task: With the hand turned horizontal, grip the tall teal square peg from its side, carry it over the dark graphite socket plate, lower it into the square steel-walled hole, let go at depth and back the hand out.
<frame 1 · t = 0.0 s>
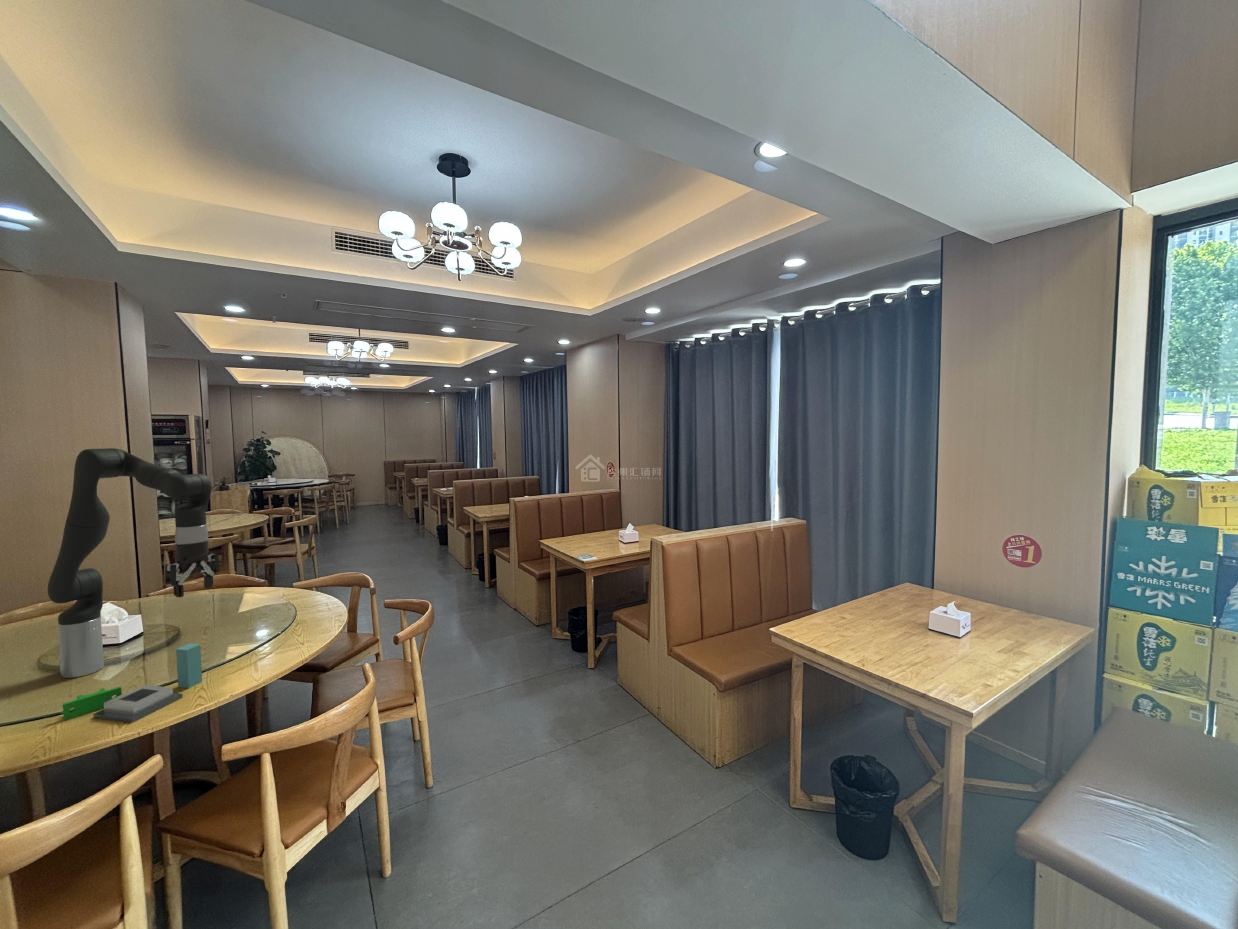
hand: (194, 592, 149), 29 cm above the table, tool pointing down, fingers open, 8 cm apart
square socket plate: (139, 707, 139), on the table
teal square peg: (190, 684, 151), on the table
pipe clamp: (93, 709, 138), on the table
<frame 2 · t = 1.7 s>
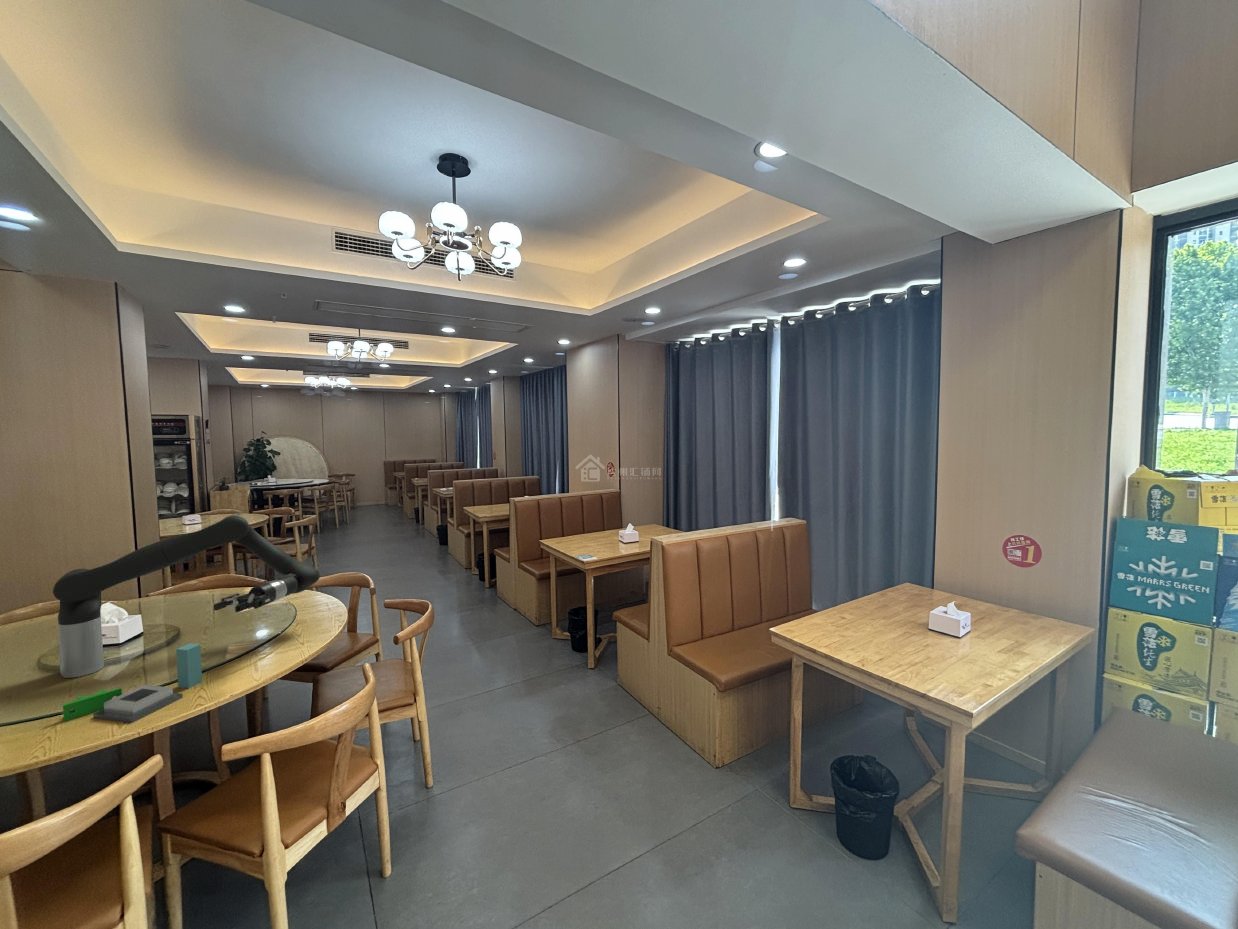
hand: (225, 608, 162), 20 cm above the table, tool horizontal, fingers open, 8 cm apart
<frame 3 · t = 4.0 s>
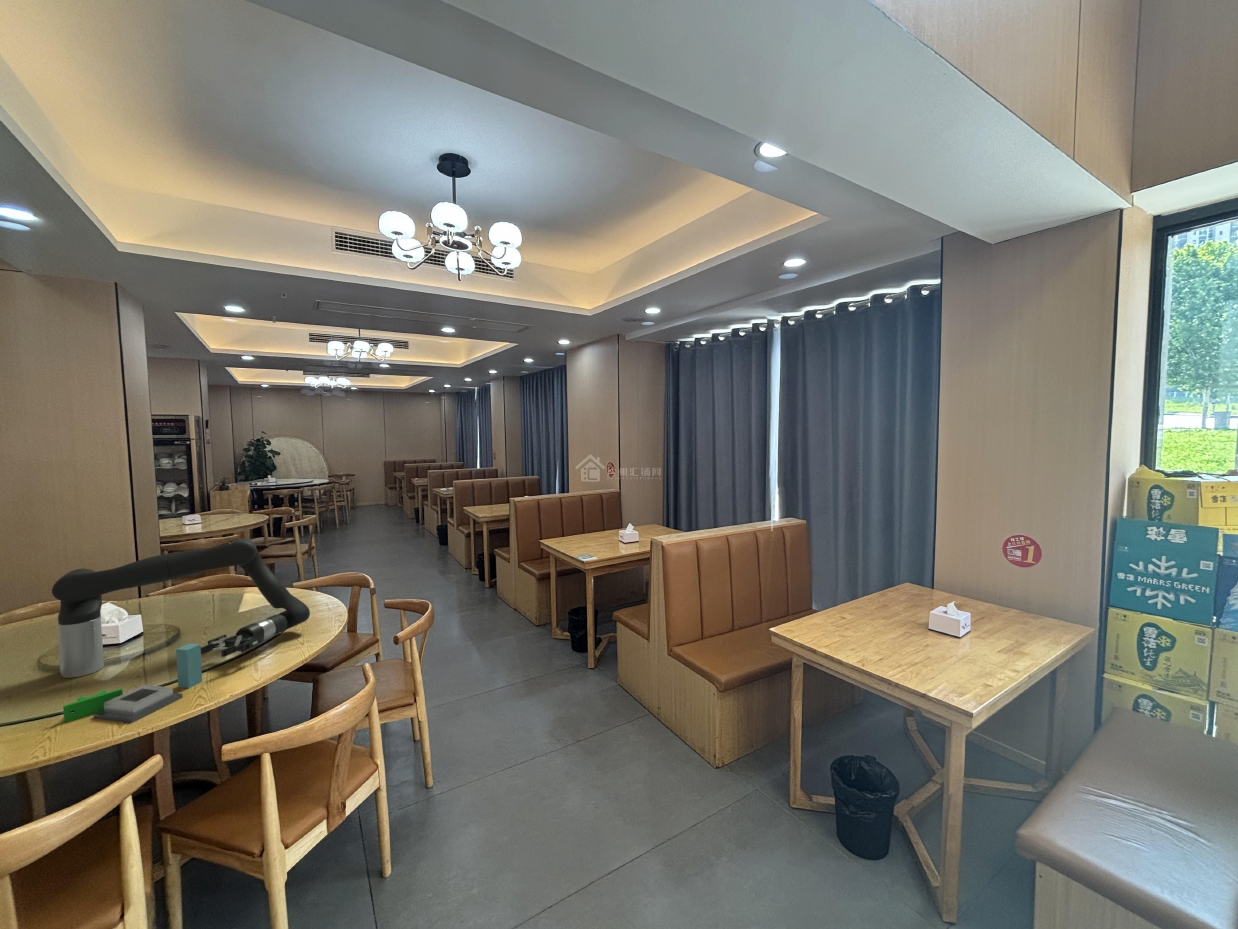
hand: (211, 652, 158), 7 cm above the table, tool horizontal, fingers open, 8 cm apart
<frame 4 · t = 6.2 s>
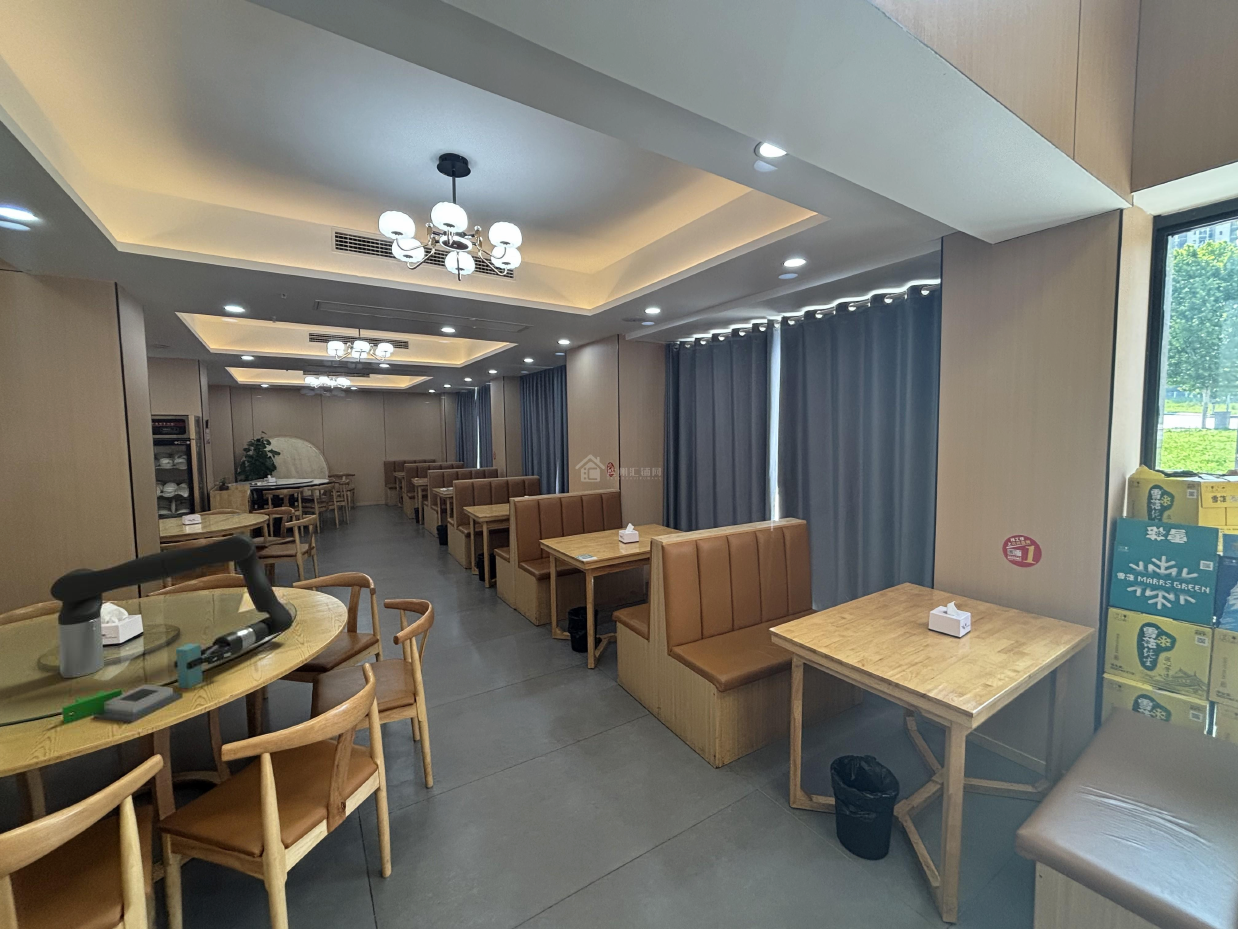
hand: (181, 665, 149), 7 cm above the table, tool horizontal, fingers closed on teal square peg, 4 cm apart
teal square peg: (190, 684, 151), on the table, touching gripper
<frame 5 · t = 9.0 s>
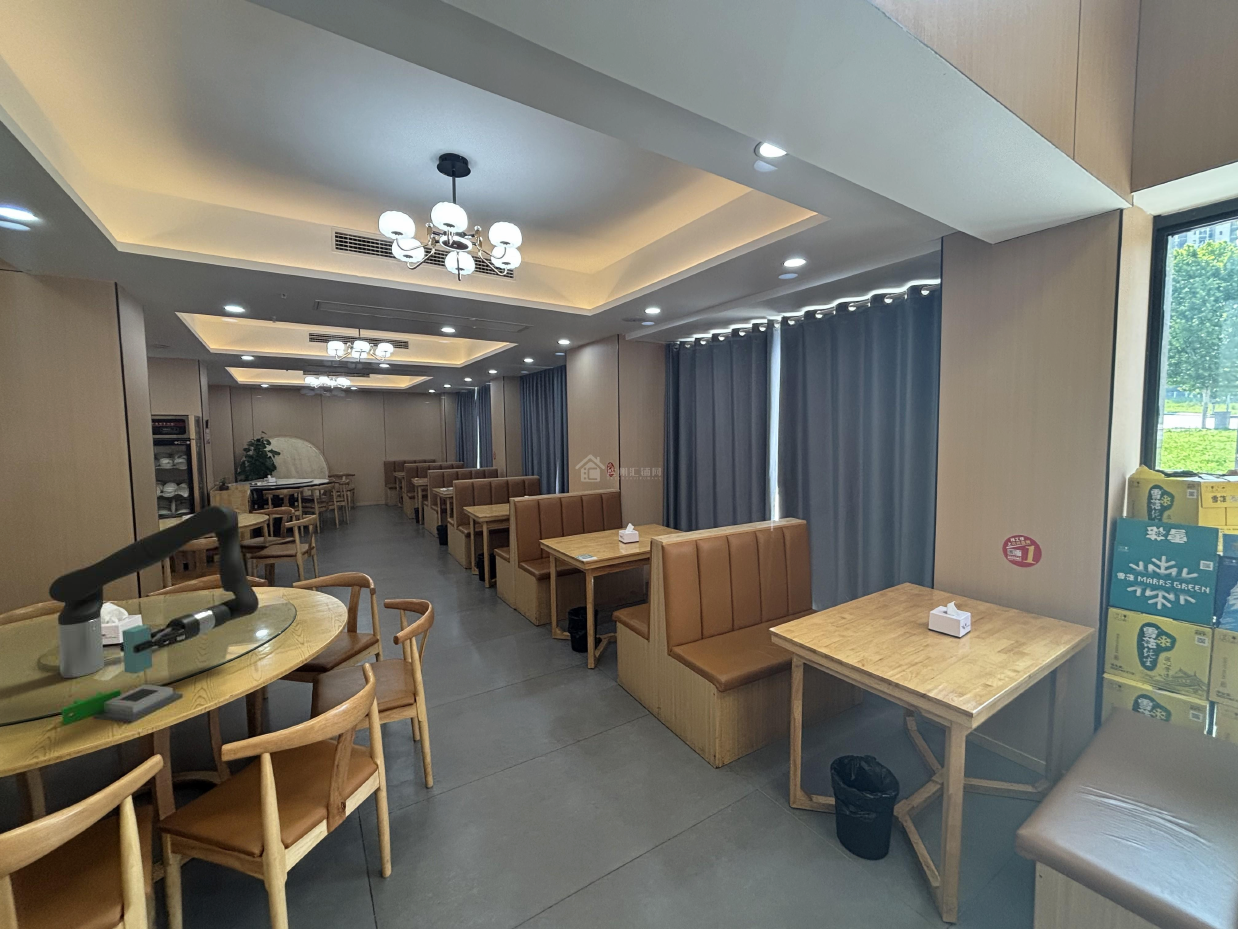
hand: (128, 649, 136), 18 cm above the table, tool horizontal, fingers closed on teal square peg, 4 cm apart
teal square peg: (138, 669, 138), point 11 cm above the table, touching gripper
when the fingers open (8 cm above the table, at t = 11.6 s): teal square peg stays where it is, resting on square socket plate.
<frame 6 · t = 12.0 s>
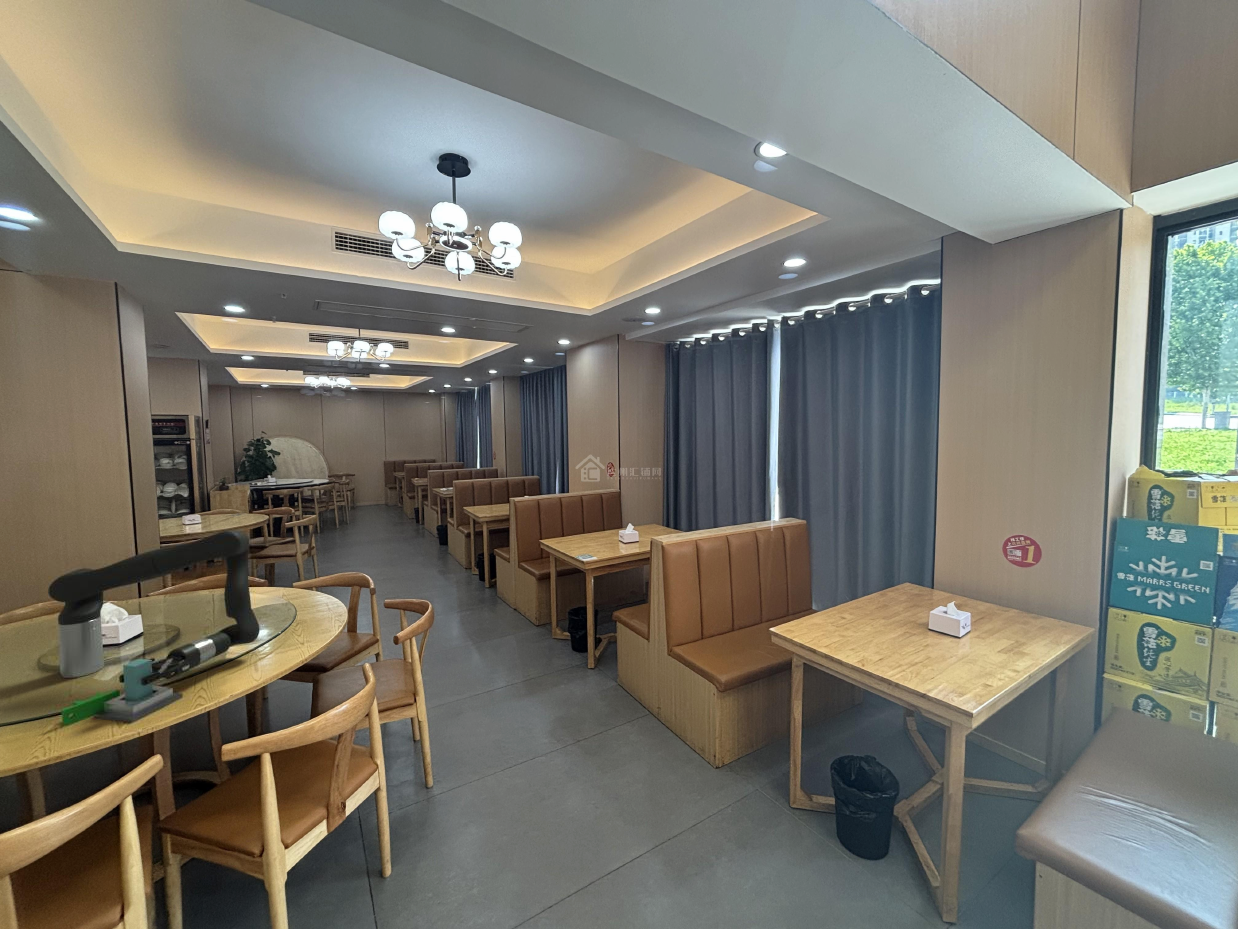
hand: (131, 681, 137), 9 cm above the table, tool horizontal, fingers open, 7 cm apart
teal square peg: (139, 703, 139), point 1 cm above the table, touching square socket plate
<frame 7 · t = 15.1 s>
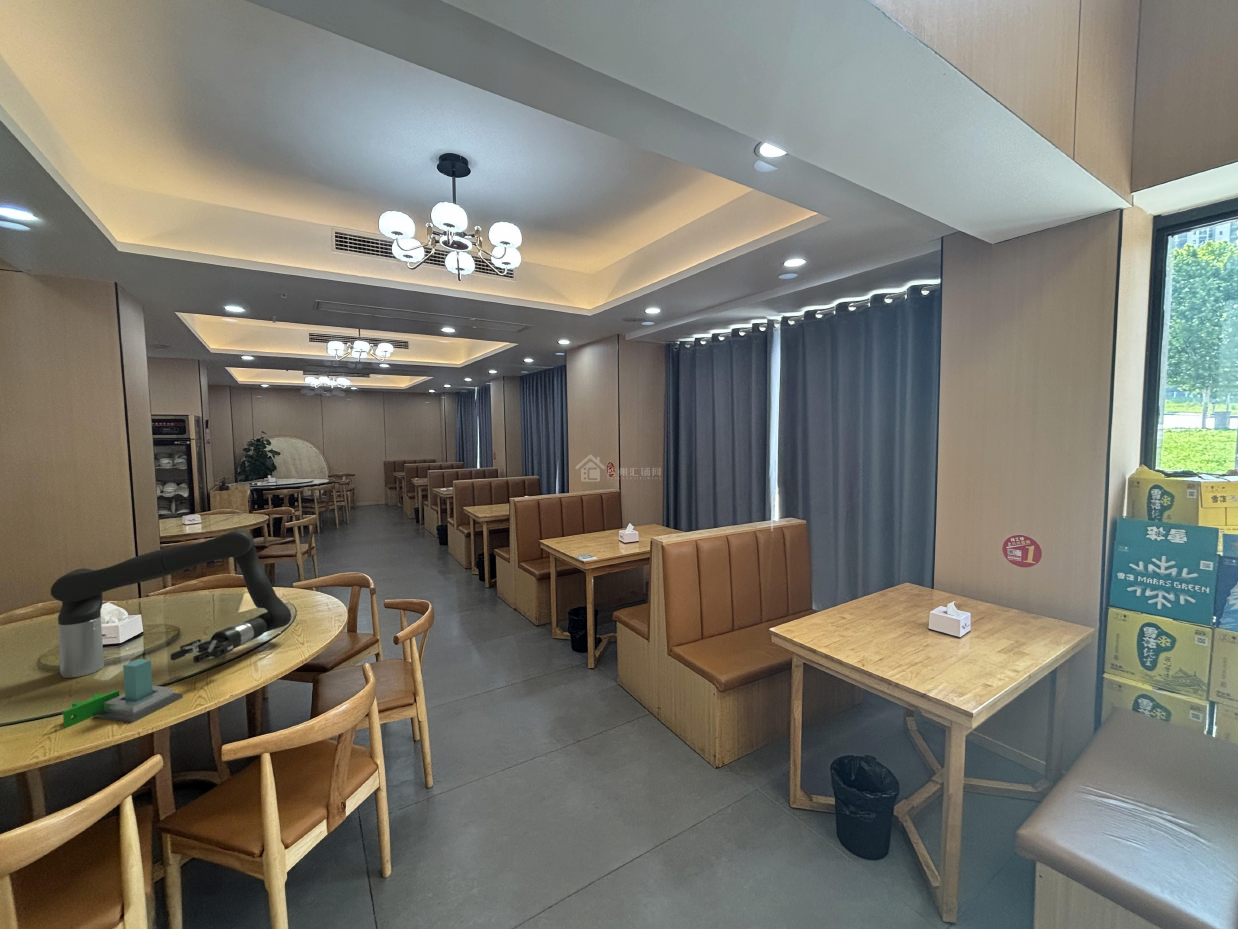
hand: (182, 658, 150), 9 cm above the table, tool horizontal, fingers open, 8 cm apart
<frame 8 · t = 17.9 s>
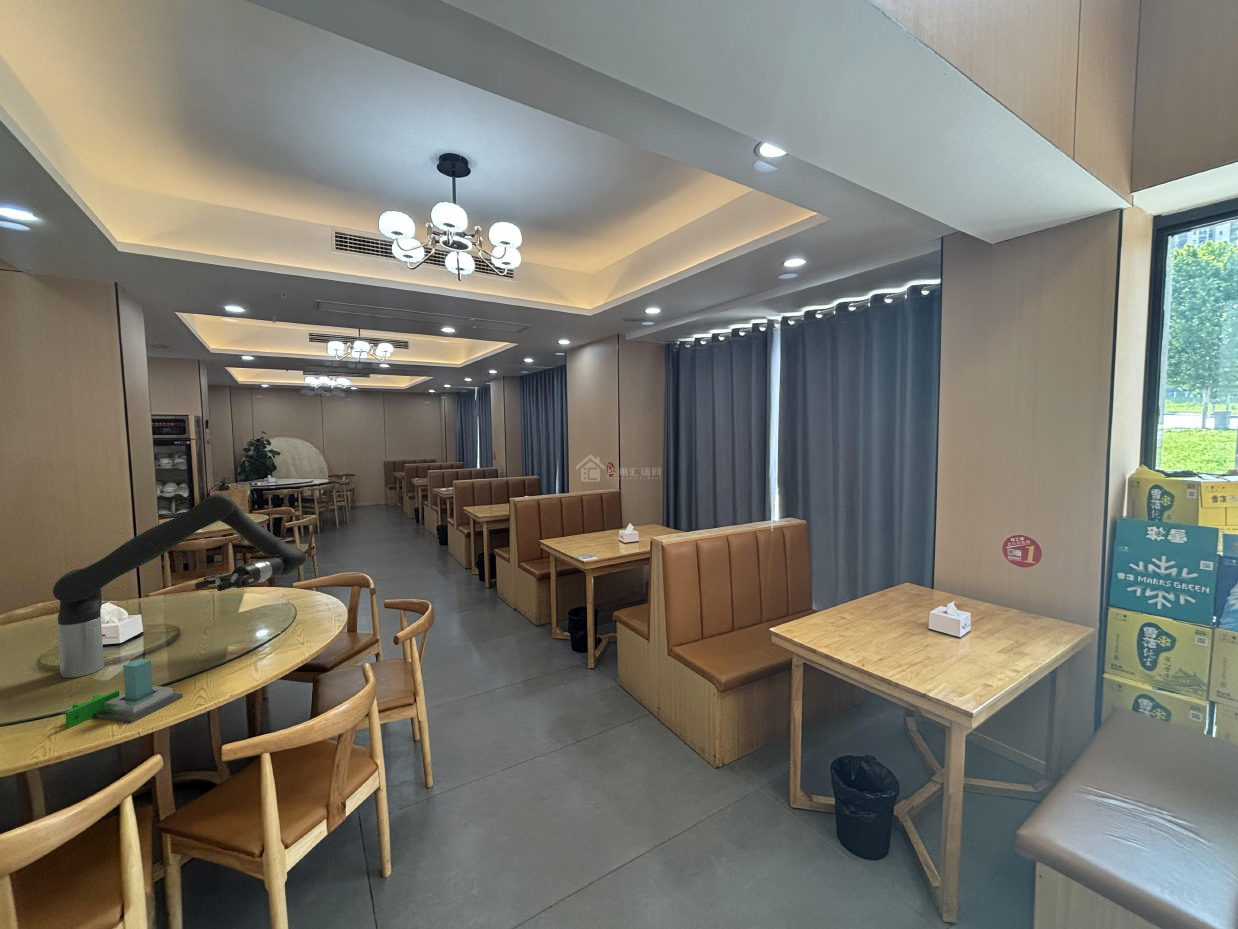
hand: (207, 587, 158), 28 cm above the table, tool horizontal, fingers open, 8 cm apart
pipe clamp: (91, 716, 135), on the table, touching square socket plate
everything else where it was.
at the end: teal square peg 0.1 cm off-centre on the square socket plate, point 1.0 cm above the square socket plate's base; teal square peg tilted 0°; the gripper is holding nothing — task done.
